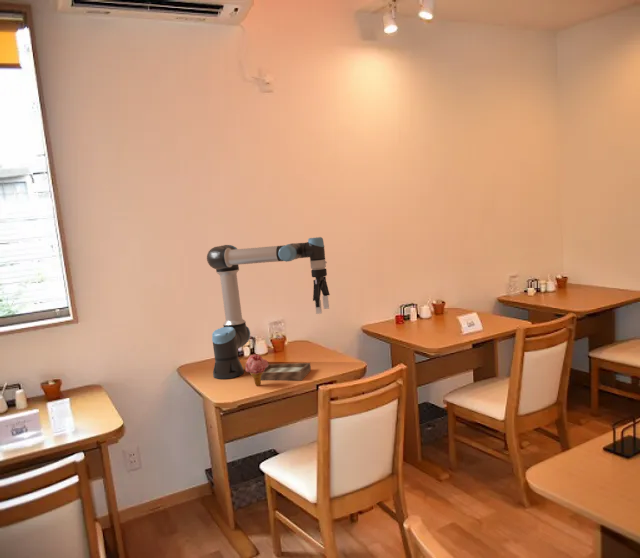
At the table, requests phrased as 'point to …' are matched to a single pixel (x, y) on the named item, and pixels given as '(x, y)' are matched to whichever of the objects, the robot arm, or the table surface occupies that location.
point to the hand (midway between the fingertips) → (322, 311)
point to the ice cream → (256, 367)
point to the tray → (286, 371)
